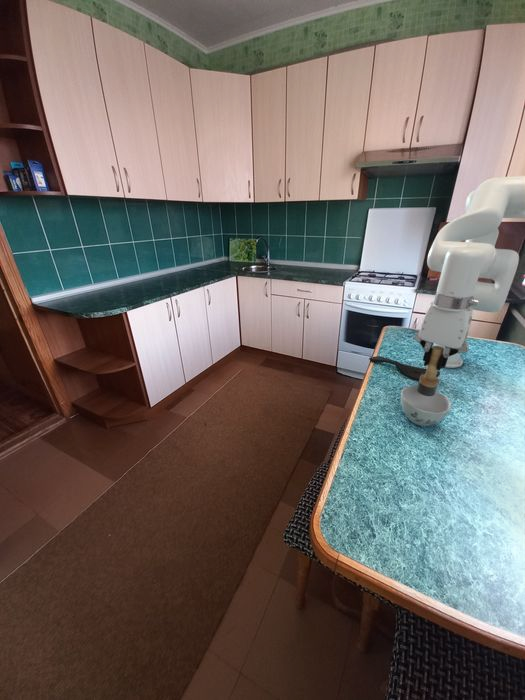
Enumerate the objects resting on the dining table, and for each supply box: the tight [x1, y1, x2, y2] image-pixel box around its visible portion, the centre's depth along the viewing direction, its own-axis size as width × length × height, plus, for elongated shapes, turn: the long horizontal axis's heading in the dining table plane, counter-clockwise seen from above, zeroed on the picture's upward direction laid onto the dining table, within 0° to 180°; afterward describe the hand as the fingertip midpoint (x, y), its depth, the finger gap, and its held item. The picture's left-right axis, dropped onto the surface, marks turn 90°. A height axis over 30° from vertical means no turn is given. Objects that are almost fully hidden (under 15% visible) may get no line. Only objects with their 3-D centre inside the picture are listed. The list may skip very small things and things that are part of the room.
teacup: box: [400, 385, 452, 427], centre depth 84 cm, size 15×12×8 cm
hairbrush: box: [368, 356, 441, 381], centre depth 109 cm, size 8×4×25 cm
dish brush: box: [417, 345, 444, 396], centre depth 79 cm, size 5×5×14 cm
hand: (433, 365), depth 79 cm, fingers closed on dish brush, 2 cm apart
